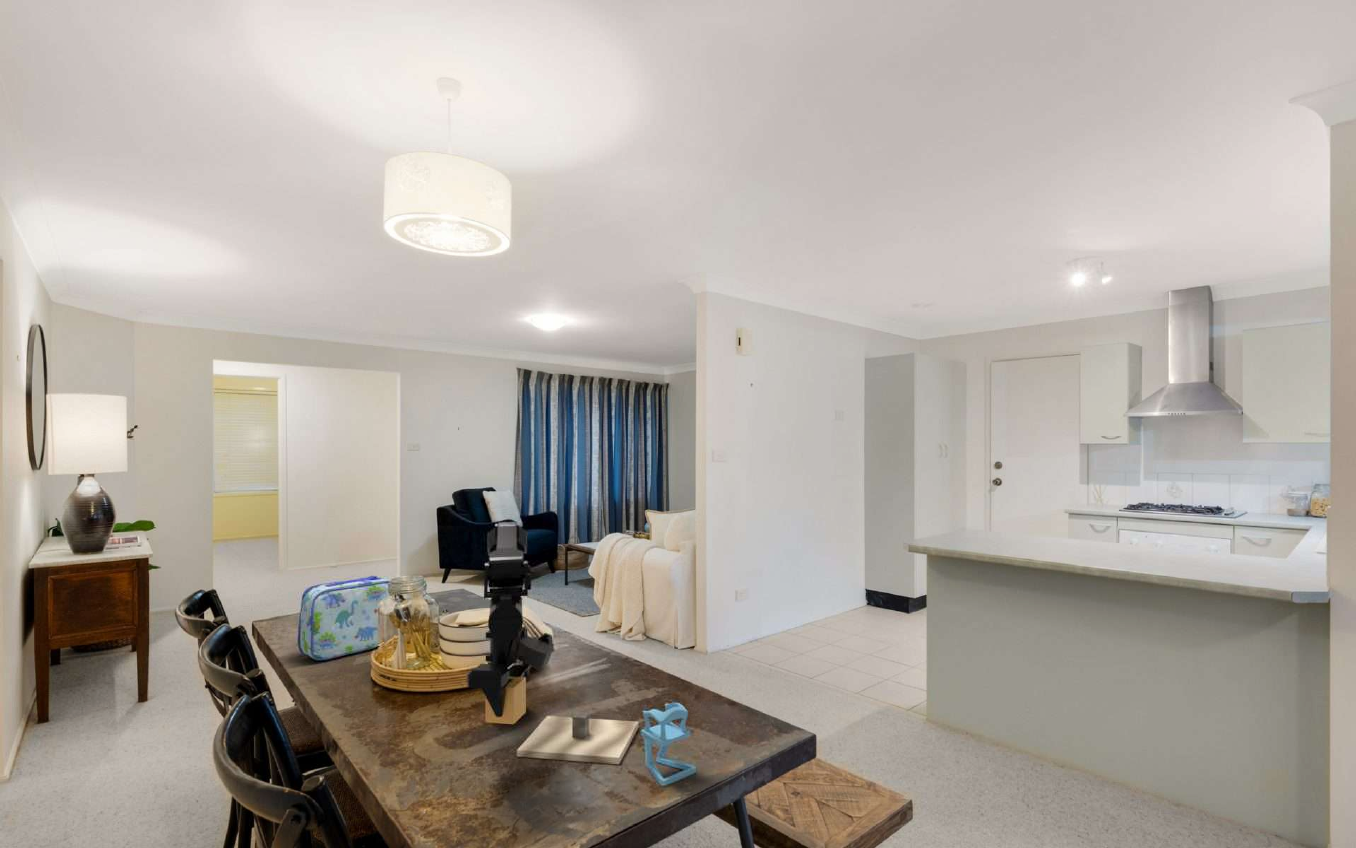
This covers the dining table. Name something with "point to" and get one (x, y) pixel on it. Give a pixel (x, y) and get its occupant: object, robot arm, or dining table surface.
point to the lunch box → (340, 617)
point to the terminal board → (580, 739)
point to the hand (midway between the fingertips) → (505, 710)
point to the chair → (666, 740)
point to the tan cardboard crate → (510, 703)
